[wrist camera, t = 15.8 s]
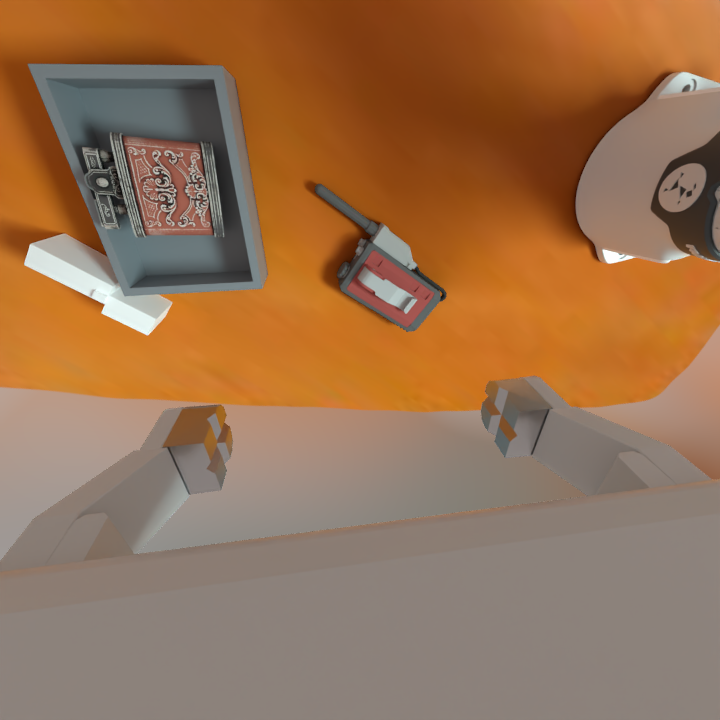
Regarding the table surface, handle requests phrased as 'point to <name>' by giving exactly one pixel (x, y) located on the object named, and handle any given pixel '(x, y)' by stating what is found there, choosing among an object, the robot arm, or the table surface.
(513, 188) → the table surface
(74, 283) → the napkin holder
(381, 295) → the walkie-talkie
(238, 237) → the grey tray
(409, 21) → the table surface
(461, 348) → the table surface
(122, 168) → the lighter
